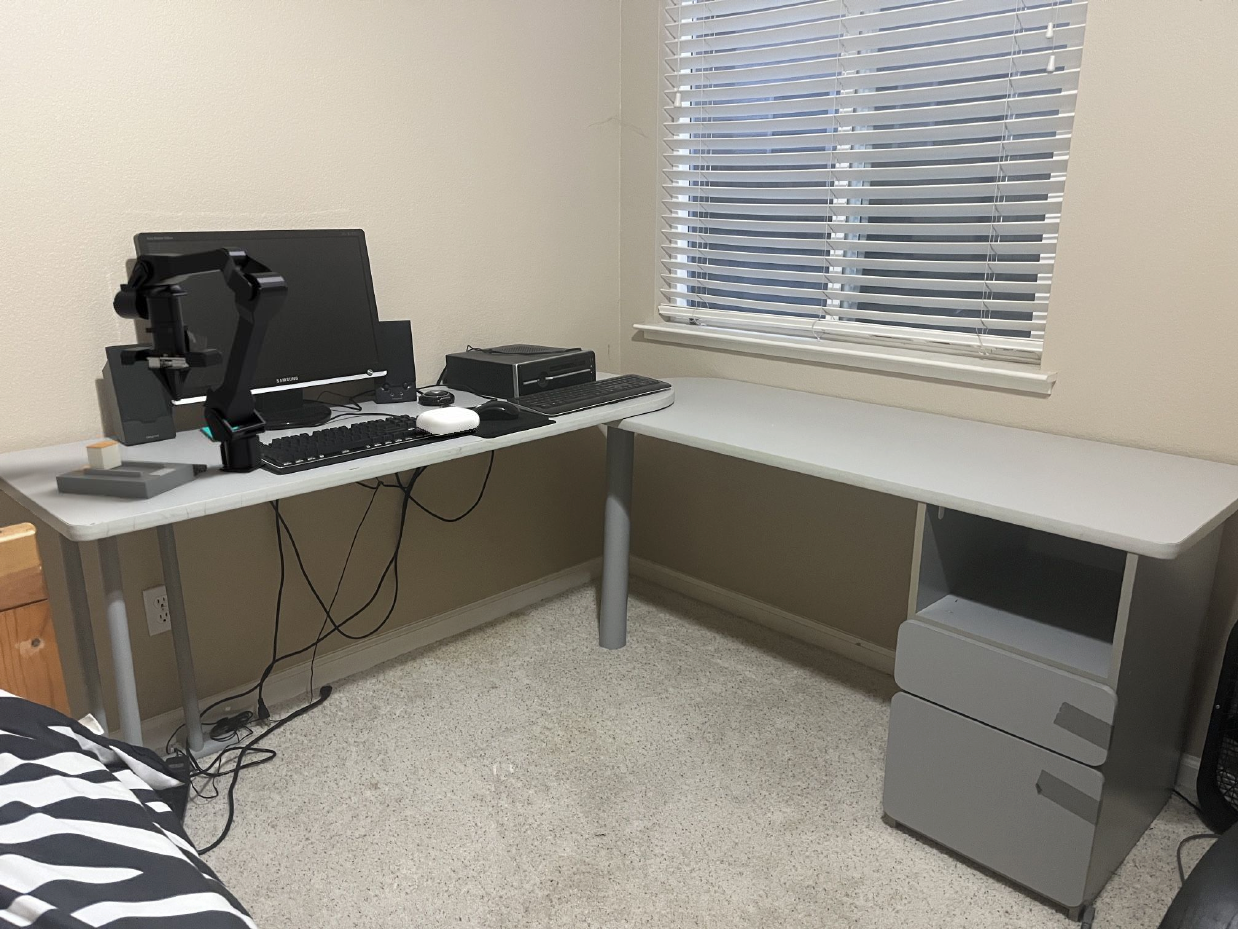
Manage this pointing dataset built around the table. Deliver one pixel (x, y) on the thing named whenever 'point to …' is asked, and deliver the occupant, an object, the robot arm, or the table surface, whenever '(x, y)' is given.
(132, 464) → the grey tray
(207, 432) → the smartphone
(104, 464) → the toggle
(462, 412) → the earbud case
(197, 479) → the table surface
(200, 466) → the grey thin rod
